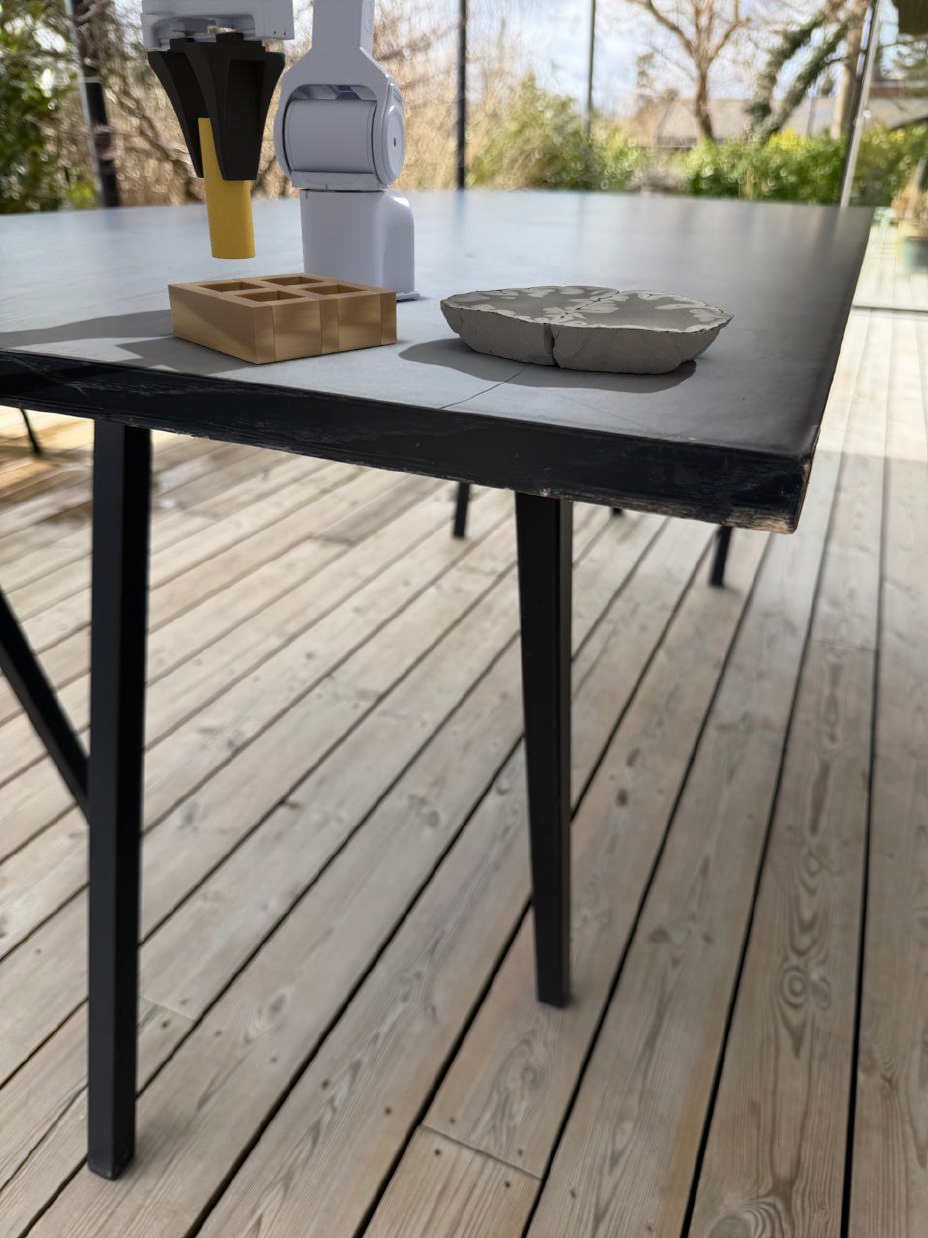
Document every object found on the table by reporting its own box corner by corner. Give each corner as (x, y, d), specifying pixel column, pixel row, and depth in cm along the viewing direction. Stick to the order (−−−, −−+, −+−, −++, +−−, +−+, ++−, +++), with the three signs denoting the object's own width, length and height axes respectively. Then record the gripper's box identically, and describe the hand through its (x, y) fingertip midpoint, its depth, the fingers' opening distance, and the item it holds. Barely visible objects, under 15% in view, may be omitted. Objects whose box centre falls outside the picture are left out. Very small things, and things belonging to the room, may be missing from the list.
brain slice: (749, 341, 68) (756, 299, 66) (695, 391, 54) (702, 339, 53) (507, 316, 75) (509, 278, 74) (407, 353, 62) (406, 307, 60)
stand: (307, 319, 72) (304, 272, 71) (397, 342, 65) (396, 291, 63) (173, 335, 65) (167, 284, 64) (257, 364, 58) (252, 307, 56)
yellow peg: (241, 252, 62) (229, 118, 58) (263, 257, 60) (252, 119, 56) (204, 255, 60) (189, 117, 56) (225, 260, 58) (212, 117, 55)
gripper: (80, -82, 54) (116, 174, 60) (200, -122, 45) (228, 186, 51) (189, -64, 58) (212, 173, 65) (320, -97, 49) (332, 183, 55)
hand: (226, 179), depth 58 cm, fingers closed on yellow peg, 3 cm apart
